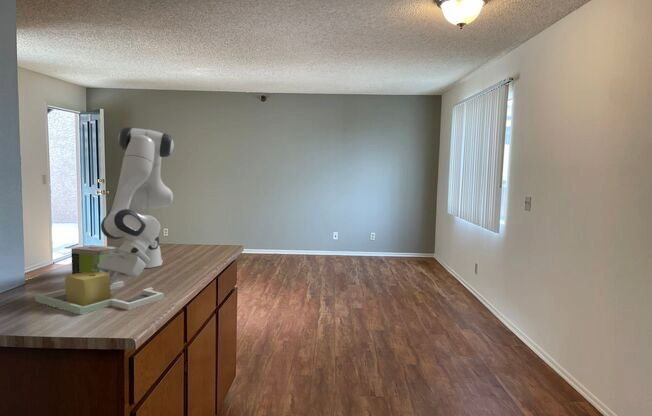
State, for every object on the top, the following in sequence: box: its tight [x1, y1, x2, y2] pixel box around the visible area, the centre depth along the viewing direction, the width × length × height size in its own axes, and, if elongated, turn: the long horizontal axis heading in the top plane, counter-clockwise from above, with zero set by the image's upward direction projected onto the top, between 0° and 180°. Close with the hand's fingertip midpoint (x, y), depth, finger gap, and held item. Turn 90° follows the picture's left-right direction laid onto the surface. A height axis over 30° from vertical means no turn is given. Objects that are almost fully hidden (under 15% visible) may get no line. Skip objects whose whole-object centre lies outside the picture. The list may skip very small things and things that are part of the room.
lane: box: [34, 280, 165, 315], centre depth 146 cm, size 35×28×2 cm
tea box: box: [70, 244, 119, 283], centre depth 167 cm, size 15×10×15 cm, turn 71°
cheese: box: [64, 272, 111, 307], centre depth 143 cm, size 10×11×10 cm
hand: (107, 283), depth 148 cm, fingers closed
